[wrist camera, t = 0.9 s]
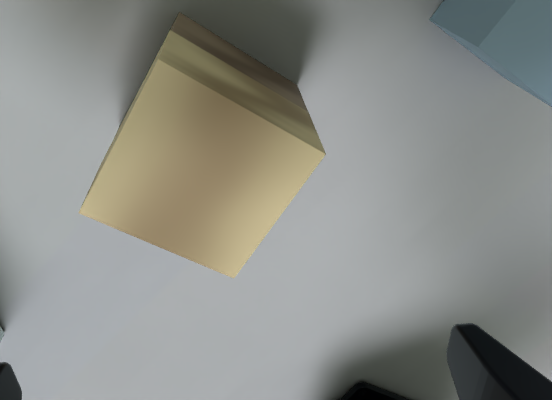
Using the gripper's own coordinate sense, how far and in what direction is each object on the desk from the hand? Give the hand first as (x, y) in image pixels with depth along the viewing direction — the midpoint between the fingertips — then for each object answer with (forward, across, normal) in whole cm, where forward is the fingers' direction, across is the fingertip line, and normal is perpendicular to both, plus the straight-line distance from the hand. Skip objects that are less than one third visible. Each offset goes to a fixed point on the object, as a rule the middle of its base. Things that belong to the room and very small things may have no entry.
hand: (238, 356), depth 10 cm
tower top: (+10, +1, -1) cm, 10 cm away
